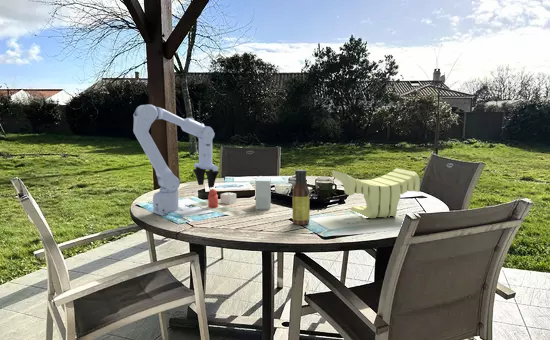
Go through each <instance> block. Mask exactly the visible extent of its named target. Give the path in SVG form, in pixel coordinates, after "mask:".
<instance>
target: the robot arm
mask: <svg viewBox="0 0 550 340" xmlns="http://www.w3.org/2000/svg"><path fill="white" fill-rule="evenodd" d="M132 116H133V129H132V131H133V134H134V135H135V137H136V139H137V141H138V143H139V144H140V146H141V149H143V152H144V153H145V156H146V157H147V159H148V160H149V162H150V164H151V165H152V167H153V169H154V171H155V175H156V178H157V183H158V186H159V187H160V188H159V191H158V192H154V193H153V195H152V204H153V205H152V206H153V207H152V208H153V211H152V213H153V214H156V215H159V216H162V217H163V216H167V215H169V213H172V212H177V211H179V187H180V183H181V182H180V179H179V178H178V177H177V176H176V175H175V174H174V173H173V171H172V170H171V169H170V168H169V166H168V165H167V163H166V161H165V159H164V157H163V156H162V154H161V152H160V150H159V149H158V146H157V145H156V143H155V141H154V139H153V138H152V135H151V134H150V132H149V131H150V128H151V126H152V124H153V123H154V122H155V121H156V120H164V121H167V122H169V123H171V124H175V125H176V126H179V127H180V129H181V130H182V132H184V133H187V134H189V135H192V136H194V137H196V138H197V139H198V162H196V163H195V162H194V163H193V165H194V168H193V169H192V171H193V173H194V175H195V177H196V181H197V184H198V186H203V185H204V183H205V175H206V178H207V186H208V188H209V189H210V188H211V189H212V188H214V186H215V183H216V179H217V177H218V174H219V173H220V171H219V166H218V165H215V164H214V163H213V139H214V138H215V134H216V133H215V132H214V129H213V128H212V127H211V126H207V125H205V124H204V123H203V122H201V123H200V122H199V121H196V120H195V118H193V117H186V118H182V117H180V116H178V115H177V114H174V113H173V112H170V111H168V110H166V109H165V108H162V107H159V106H155V105H153V104H151V103H150V104H141V105H139V106H137V107H136V109H135V111H134V113H133V115H132Z"/></svg>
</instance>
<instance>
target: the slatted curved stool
mask: <svg viewBox="0 0 550 340" xmlns="http://www.w3.org/2000/svg"><path fill="white" fill-rule="evenodd" d="M332 177H333V178H335V179H337V180H338V181H340V182H341V183H342V186H343V189H344V194H345V195H347V196H352V195H355V194H357V195H359V194H360V195H363V198H364V200H365V203H366V204H365V205H360V206H357V205H355V206H351V208H350V210H352V211H355V212H357V213H360V214H362V215H364V216H366V217H368V218H370V219H377V218H376V217H384V218H391V217H390V216H395V217H396V216H397V212H398V211H397V210H398V205H399V202H400V200H401V195H404V194H405V193H408V192H416V193H417V192H418V193H419V192H420V182H421V179H420V176H419V174H418V173H417V172H415V171H411V170H407V169H403V168H399V167H397V168H394V169H393V170H392V171H390V172H388V173H386V174H384V175H381V176H380V177H375V178H371V179H357V178H355V177H353V176H351V175H349V174H347V173H344V172H340V171H337V170H334V169H333V170H332ZM387 216H388V217H387Z"/></svg>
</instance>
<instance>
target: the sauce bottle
mask: <svg viewBox="0 0 550 340" xmlns="http://www.w3.org/2000/svg"><path fill="white" fill-rule="evenodd" d="M294 173H295V183H294V185H293V187H292V222H293V224H294V225H297V226H306V224H307V225H309V223H310V219H311V218H310V206H311V205H310V190H309V186H308V183H307V170H306V169H295V170H294Z"/></svg>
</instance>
